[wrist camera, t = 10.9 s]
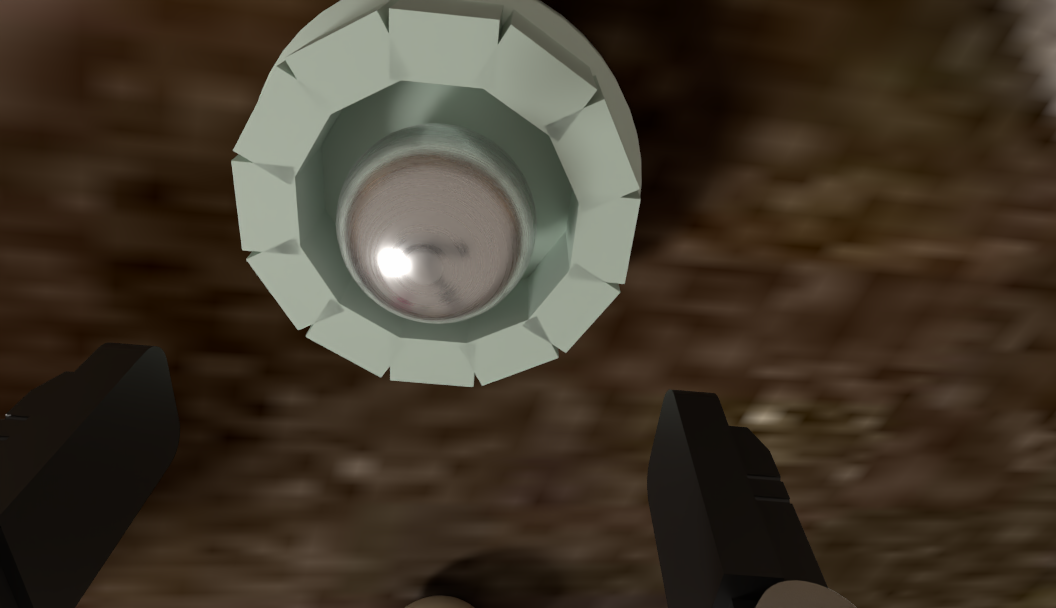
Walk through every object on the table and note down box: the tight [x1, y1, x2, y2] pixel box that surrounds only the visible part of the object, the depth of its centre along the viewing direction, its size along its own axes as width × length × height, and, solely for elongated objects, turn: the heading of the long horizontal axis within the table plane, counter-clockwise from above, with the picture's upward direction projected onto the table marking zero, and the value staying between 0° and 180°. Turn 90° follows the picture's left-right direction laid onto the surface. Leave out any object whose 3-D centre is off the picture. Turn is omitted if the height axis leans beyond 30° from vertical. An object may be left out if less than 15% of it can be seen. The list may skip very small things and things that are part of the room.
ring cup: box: [231, 0, 642, 387], centre depth 19 cm, size 11×11×4 cm
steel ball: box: [336, 123, 537, 324], centre depth 18 cm, size 5×5×5 cm
